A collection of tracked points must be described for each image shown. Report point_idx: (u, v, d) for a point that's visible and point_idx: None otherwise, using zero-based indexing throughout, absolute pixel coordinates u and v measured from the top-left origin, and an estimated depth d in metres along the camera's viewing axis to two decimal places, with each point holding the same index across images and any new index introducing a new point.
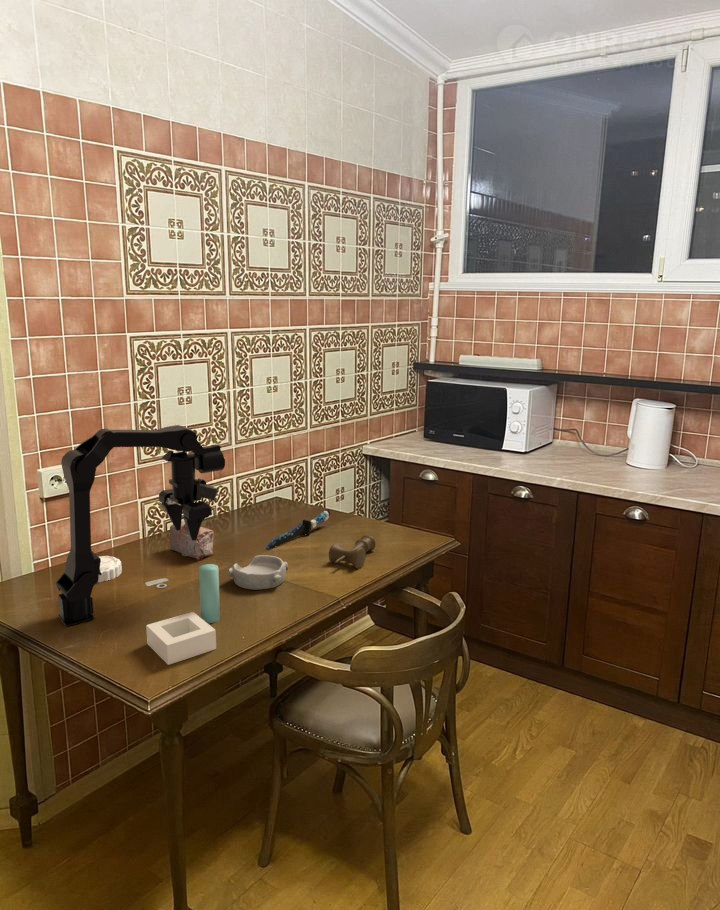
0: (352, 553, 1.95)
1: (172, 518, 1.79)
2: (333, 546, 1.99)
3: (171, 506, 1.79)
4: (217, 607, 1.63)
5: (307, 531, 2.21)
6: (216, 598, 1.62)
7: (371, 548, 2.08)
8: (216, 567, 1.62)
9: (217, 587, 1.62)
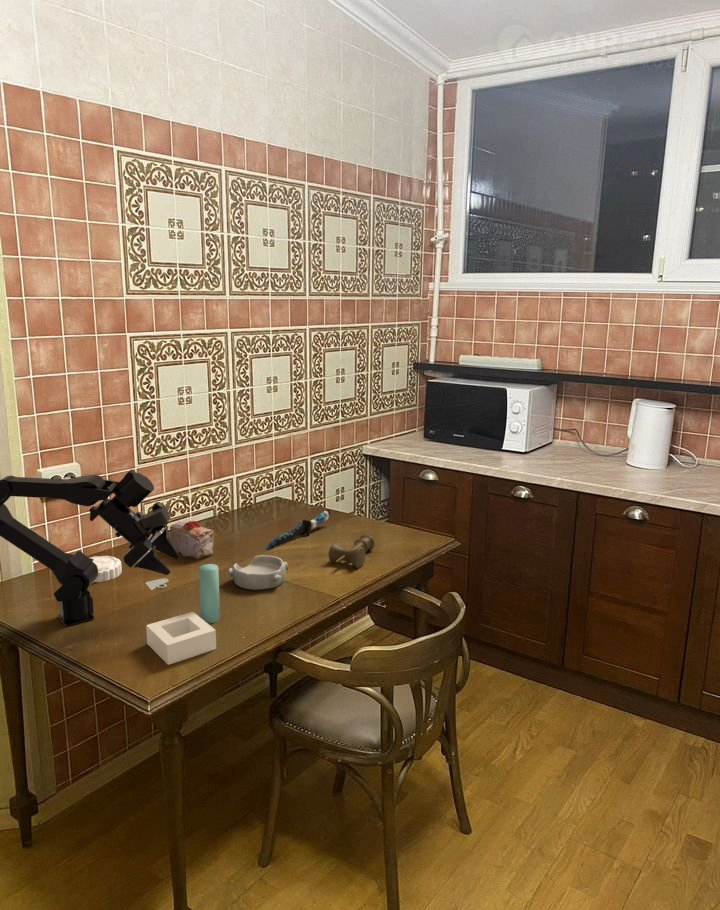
0: (352, 553, 1.95)
1: (163, 552, 1.65)
2: (333, 546, 1.99)
3: (153, 542, 1.65)
4: (217, 607, 1.63)
5: (307, 531, 2.21)
6: (216, 598, 1.62)
7: (370, 548, 2.08)
8: (216, 567, 1.62)
9: (217, 587, 1.62)
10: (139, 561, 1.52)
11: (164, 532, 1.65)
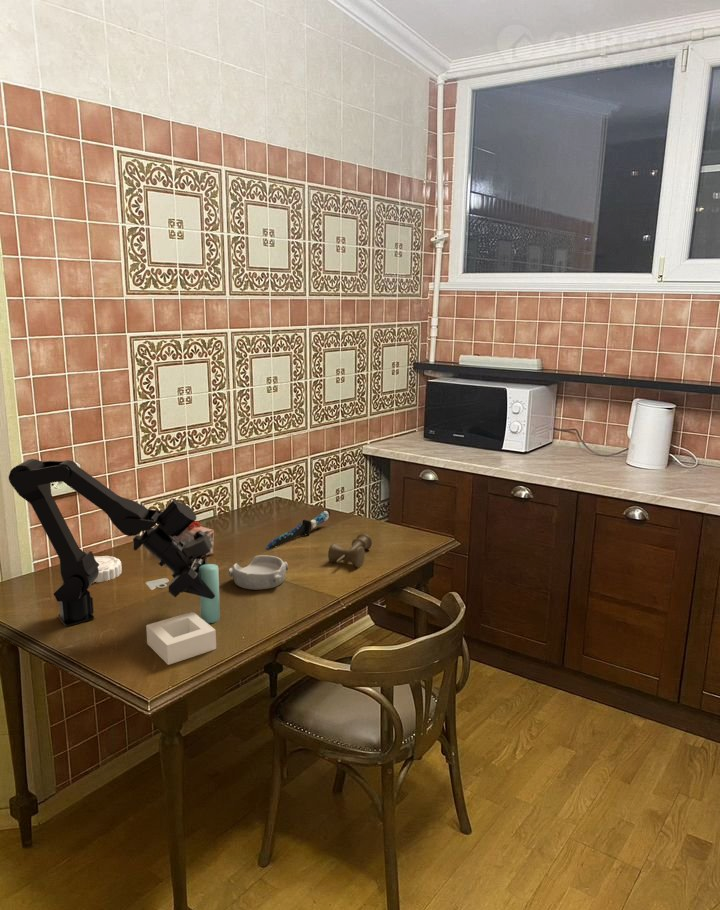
0: (352, 552, 1.96)
1: None
2: (332, 546, 1.99)
3: None
4: (217, 607, 1.63)
5: (307, 531, 2.21)
6: (217, 598, 1.62)
7: (368, 547, 2.09)
8: (216, 567, 1.62)
9: (217, 587, 1.62)
10: (185, 586, 1.56)
11: (203, 563, 1.64)
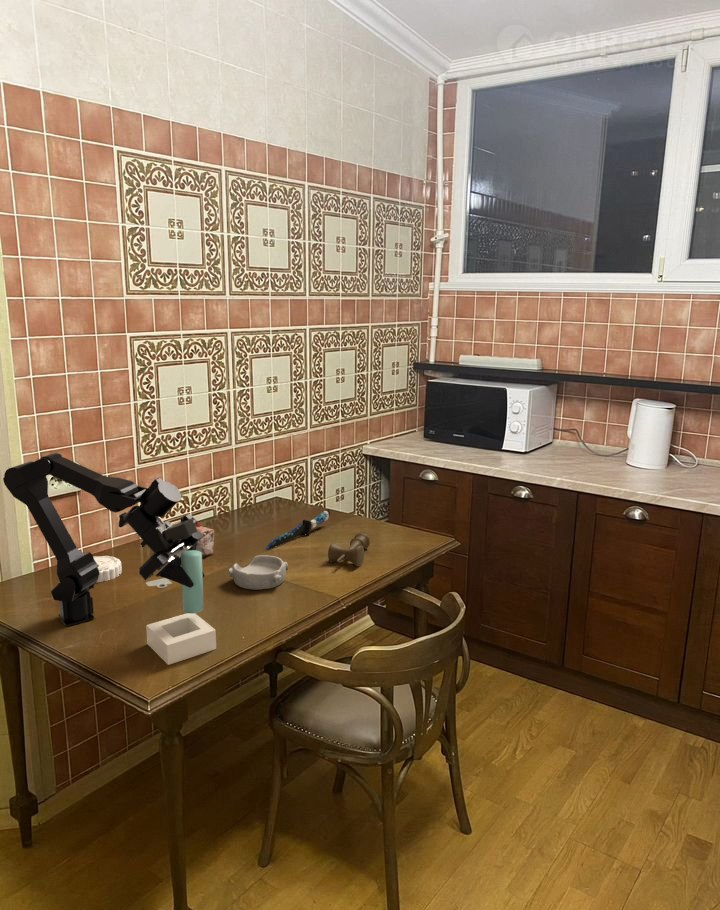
0: (352, 552, 1.96)
1: None
2: (332, 545, 1.99)
3: (180, 558, 1.56)
4: (198, 597, 1.52)
5: (307, 531, 2.21)
6: (197, 587, 1.51)
7: (366, 546, 2.10)
8: (199, 554, 1.51)
9: (198, 575, 1.51)
10: (160, 570, 1.47)
11: (190, 549, 1.54)
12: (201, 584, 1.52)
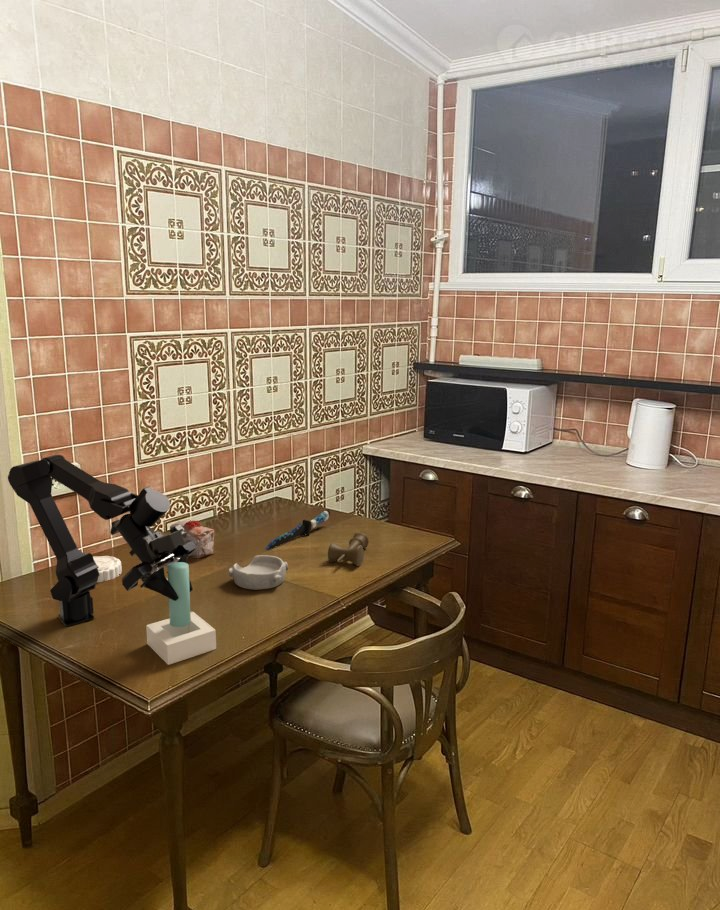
0: (352, 551, 1.96)
1: None
2: (331, 545, 1.99)
3: None
4: (184, 611, 1.48)
5: (307, 531, 2.21)
6: (183, 601, 1.47)
7: (365, 545, 2.10)
8: (185, 567, 1.47)
9: (183, 589, 1.47)
10: (144, 582, 1.44)
11: (180, 560, 1.51)
12: (187, 598, 1.48)
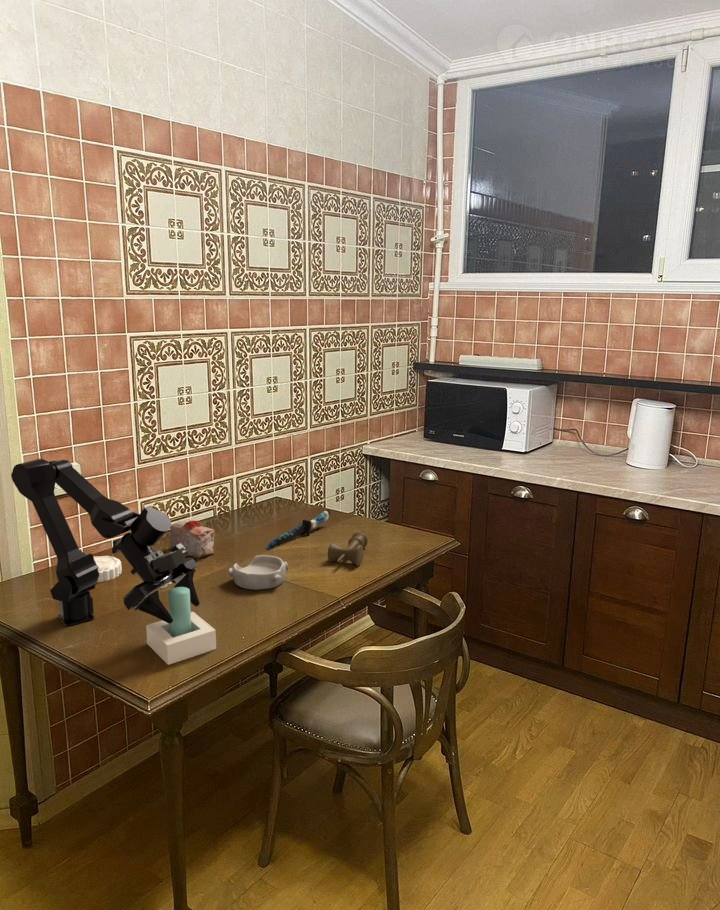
0: (352, 551, 1.97)
1: None
2: (331, 545, 1.99)
3: (177, 584, 1.55)
4: None
5: (307, 531, 2.21)
6: (184, 626, 1.49)
7: (364, 545, 2.10)
8: (186, 592, 1.48)
9: (185, 614, 1.48)
10: (138, 605, 1.43)
11: (187, 575, 1.53)
12: (188, 622, 1.50)
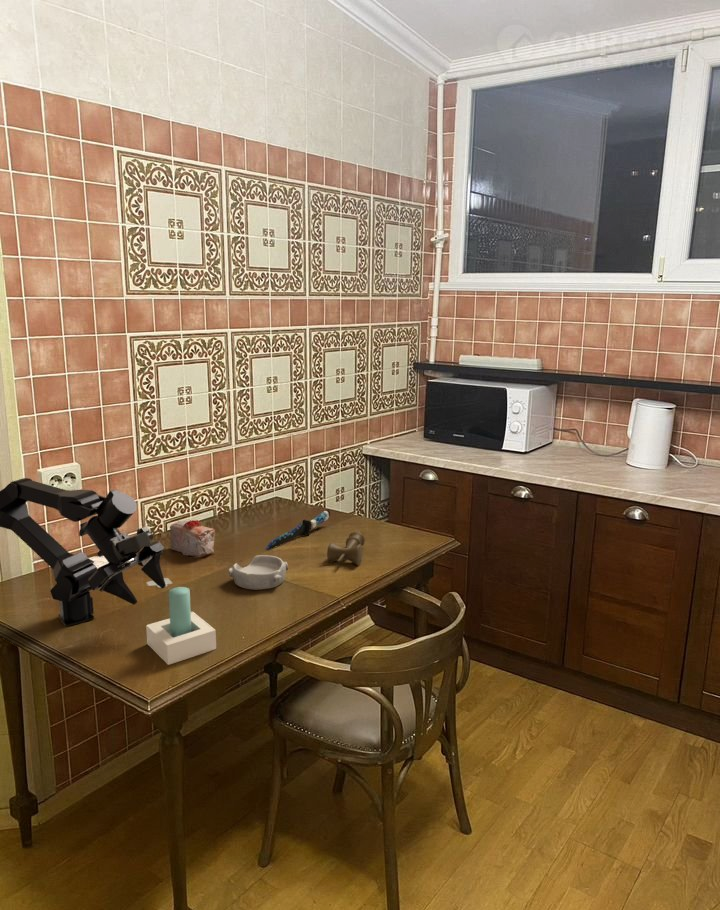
0: (352, 551, 1.97)
1: (152, 578, 1.58)
2: (331, 545, 1.99)
3: (144, 566, 1.58)
4: None
5: (307, 531, 2.21)
6: (184, 626, 1.49)
7: (361, 544, 2.11)
8: (186, 592, 1.48)
9: (185, 614, 1.48)
10: (103, 586, 1.46)
11: (153, 558, 1.57)
12: (188, 622, 1.50)
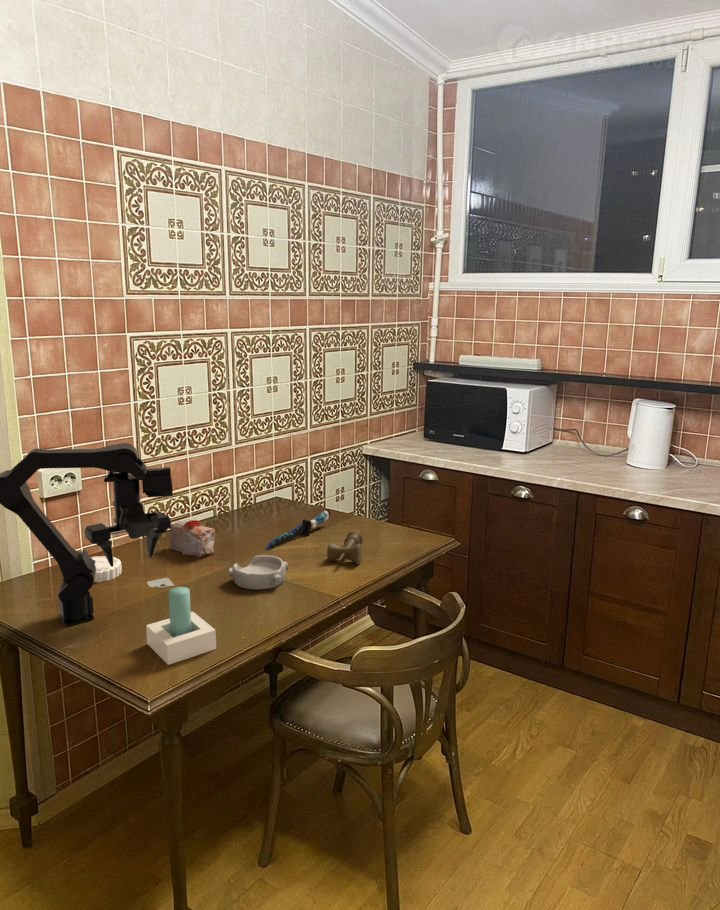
0: (352, 550, 1.97)
1: (147, 542, 1.67)
2: (330, 545, 1.99)
3: None
4: None
5: (307, 531, 2.21)
6: (184, 626, 1.49)
7: (359, 544, 2.11)
8: (186, 592, 1.48)
9: (185, 614, 1.48)
10: None
11: (154, 533, 1.64)
12: (188, 622, 1.50)
